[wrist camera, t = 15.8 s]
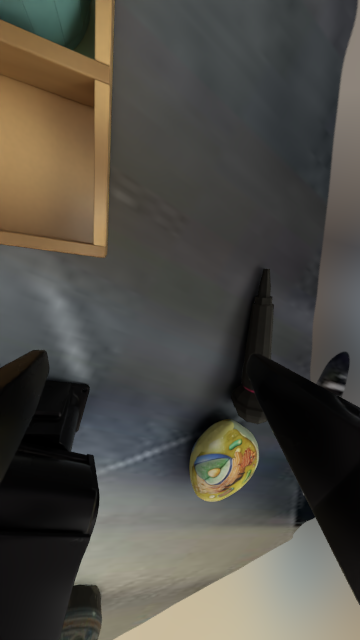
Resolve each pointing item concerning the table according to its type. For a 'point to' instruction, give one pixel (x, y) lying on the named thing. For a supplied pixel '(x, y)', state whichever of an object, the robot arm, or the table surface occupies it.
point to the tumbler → (50, 18)
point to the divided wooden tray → (56, 137)
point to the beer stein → (83, 614)
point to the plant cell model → (222, 460)
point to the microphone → (256, 351)
